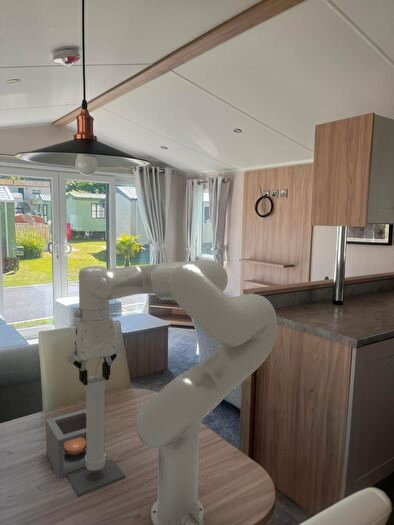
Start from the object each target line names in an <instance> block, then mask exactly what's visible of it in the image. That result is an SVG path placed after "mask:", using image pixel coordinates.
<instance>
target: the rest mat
mask: <svg viewBox="0 0 394 525" xmlns="http://www.w3.org/2000/svg"><path fill="white" fill-rule="evenodd" d="M66 477H67V478H66V479H68V481H69V483H70V486H72V488H73V491H74V492H75V494H76V495H77V497H80V496H83V495H85V494H87V493H88V494H89V493H90V492H93V491H95V490H98V489H101V488H104V487H105V486H108V485H110V484H113V483H115V482H118V481H119V480H122V479H125V478H126V474H125V473H124V472H123V471H122V470H121V468H120V467H119V465H117V463H116V462H115V461H114V459H113V458H111V459H107V460H105V466H104V467H103V468H101V469H99V470H95V471H92V470H88V469H87V468H85V469H82V470H80V471H77V472H74V473H71V474H69V475H67V476H66Z"/></svg>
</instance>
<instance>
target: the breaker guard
mask: <svg viewBox="0 0 394 525" xmlns="http://www.w3.org/2000/svg"><path fill="white" fill-rule="evenodd" d="M105 429H106V426H105V425H104V452H105V453H106V450H105V449H106V443H105V441H106V436H105V434H106V433H105ZM79 437H82V438H85V439H86V408H83V409H80V410H77V411H72V412H69V413H66V414H62V415H59V416H53V417H51V418H46V419H45V439H46V440H45V441H46V442H45V444H46V456H47V459H48V461H49V462H50V464H51V466H52V468H53V471H54V472H55V474H56V476H57V478H58V479H60V480H61V479H62V478H65V477H67V475H69V474H71V473H74V472H77V471H80V470H82V469H85V468H86V466H85V456H86V449H85V450H84V451H83V452H81V453H79V454H77V455H72V454H67V453H65V452H64V442H66V441H70V440H73V439H76V438H79Z"/></svg>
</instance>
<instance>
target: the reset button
mask: <svg viewBox="0 0 394 525" xmlns="http://www.w3.org/2000/svg"><path fill="white" fill-rule="evenodd" d="M85 449H86V439H85V438H82V437H79V438H76V439H73V440H70V441H66V442H64V452H65V453H67V454H72V455H77V454H79V453H81V452H83V451H84V450H85Z"/></svg>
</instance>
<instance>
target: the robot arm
mask: <svg viewBox="0 0 394 525" xmlns="http://www.w3.org/2000/svg"><path fill="white" fill-rule="evenodd" d="M228 282H229V278H228V272H227V271H226V269H225V267H224V266H223V265H222V264H220V262H217V261H214V260H209V259H202V260H201V259H199V260H188V261H185V260H184V261H172V262H171V261H170V262H160V263H157V264H144V265H132V266H129V265H128V266H122V267H114V268H109V269H108V268H106V267H104V266H98V265H97V266H96V265H95V266H94V265H93V266H92V265H91V266H84V267H82V268H80V270H79V272H78V300H79V301H78V302H79V303H78V305H79V307H78V310H77V311H73V317H74V318H78V319H76V324H75V330H74V340H73V347H72V348H71V350H70V351H69V353H68V354H67V355H66V356H65V360H66V361H67V362H69V363H70V364H72V365H73V366H75V368H78V375H79V376H78V380H79V381H80V383H81V384H83V385H84V386H85V385H87V384H88V370H87V368H86V367H87V364H88V361H92V360H97V359H101V358H102V359H103V362H102V363H101V366H102V367H101V371H102V372H101V374H102V375H101V376H103V377H104V378H105V381H109V380H110V376H111V365H112V364H113V362H114V360H116V358H117V356H118V355H119V354H120V353H121V352H122V351H123V350H122V347H121V346H120V345H119V344H118V343H117V341H116V340H117V338H116V329H115V325H114V319H113V317H111V316H110V301H113V300H117V299H122V298H125V297H130V296H134V295H135V296H136V295H143V294H154V295H155V296H156V298H158V299H160V300H162V301H168V300H169V301H170V300H171V301H173V300H174V301H175V302H176V304H177V305H178V306H179V307H180V308H181V309H182V310H183V311H184V312H185V313H186V314H187V315H188V316H189V317H190V318H191V319H192V320H193V321H194V322H195V324H197V325H198V326H200V328H201V329H202V330H204V331H205V333H206V334H207V335H208V336H210V337H211V339H213V340H214V341H216V342H217V343H218V344H221V345H220V346H218V348H217V349H215V351H214V352H212V353H211V354H210V355H209V356H208V357H207V358H205V359H204V360H203V361H201V362H200V363H198V364H196V365H194V366H192V367H190V368H188V370H185V371H184V372H182V373H181V374H178V376H176V377H174V378H173V379H172V380H171V381H170V382H168V383H167V384H166V385H165V386H164V387H163V388H161V390H159V391H158V392H157V393H156V394H155V395H154V396H153V397H151V399H149V400H148V401H147V402H146V403H144V405H143V406H142V407H141V408H140V409H139V411H138V413H137V416H136V420H135V430H136V434H137V437H138V439H139V440H140V441H141V442H142V443H143V444H144V445H145V446H147V447H148V448H151V449H155V450H156V449H157V451H158V452H157V500H156V501H155V502H154V504H153V505H152V507H151V509H150V510H151V511H150V520H151V522H152V524H153V525H205V521H204V518H205V517H204V516H205V510H204V506H203V504H202V502H201V501H200V500H199V498H198V497H199V493H198V492H199V452H200V450H199V449H200V434H201V427H202V423H203V422H202V421H203V419H204V418H205V417H207V415H209V414H210V413H211V412H212V411H213V410H214V409H215V408H216V407H217V406H218V405H220V404H221V402H222V401H223V400H224V399H225V397H227V395H229V394H230V393H231V392H232V391H234V390H235V388H238V386H239V385H241V384H242V383H243V382H244V381H245V380H246V379H248V377H251V375H252V374H253V373H254V372H255V371H256V370H257V369H258V368H260V367H261V365H262V364H263V363H264V362H265V361H266V359H267V358H268V357H269V355H270V353H271V352H272V350H273V347H274V346H275V342H276V339H277V336H278V318H277V314H276V310H275V307H274V306H273V304H272V303H271V301H270V300H269V299H267V298H266V297H265V296H263V295H261V294H256V293H248V294H242V295H240V296H237V297H234V298H233V299H232V298H230V297H229V296H228V295H227V294H226V293H225V292H224V291H225V290H226V288H227V285H228ZM75 357H77V358H78V360H77V359H75Z"/></svg>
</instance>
